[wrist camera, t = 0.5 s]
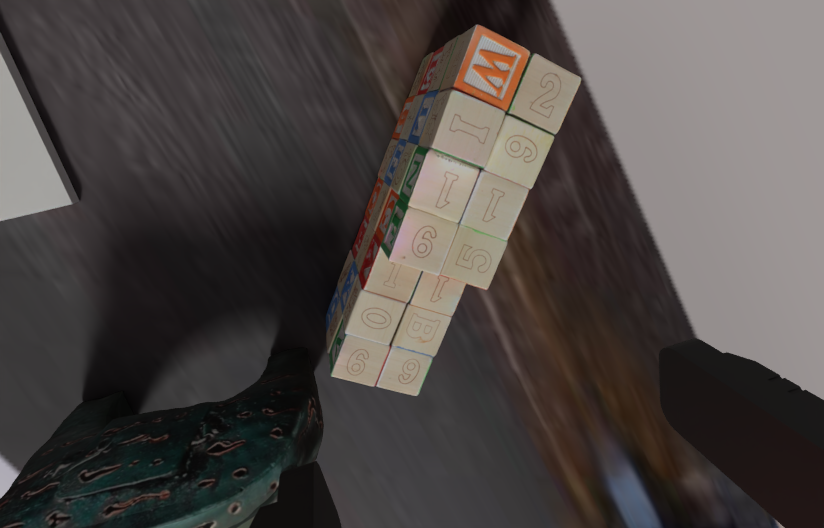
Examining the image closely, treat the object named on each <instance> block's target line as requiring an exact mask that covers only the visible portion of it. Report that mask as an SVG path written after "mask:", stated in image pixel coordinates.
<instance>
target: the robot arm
mask: <svg viewBox="0 0 824 528" xmlns="http://www.w3.org/2000/svg"><path fill="white" fill-rule="evenodd" d="M659 373H660V401H661V407H662V410H663V413H664V415H665V417H666V419H667V421H668V422H669V424H670V425H671V426H672V427H673V428H674V429H675V430H676V431H677V432H678V433H679V434H680V435H681V436H682V437H683V438H684V439H686V440H687V441H688V442H689V443H690V444H691V445H692V446H693V447H695V448H696V449H697V450H698V451H699V452H700V453H701V454H702V455H704V456H705V457H706V458H707V459H708V460H709V461H710V462H711V463H713V464H714V465H715V466H716V467H717V468H718V469H719V470H720V471H722V472H723V473H724V474H725V475H726V476H727V477H728V478H729V479H731V480H732V481H733V482H734V483H735V484H736V485H737V486H738V487H740V488H741V489H742V490H743V491H744V492H745V493H746V494H747V495H749V496H750V497H751V498H752V499H753V500H754V501H755V502H757V503H758V504H759V505H760V506H761V507H762V508H763V509H764V510H766V511H767V512H768V513H769V514H770V515H771V516H772V517H773V518H775V519H776V520H777V521H778V522H779V523H780V524H781V525H782V526H784V527H785V528H824V400H822V399H821V398H819V397H817V396H815V395H814V394H812V393H810V392H808V391H807V390H804V391H803V390H801V388H800V387H799V386H798V385H796V384H794V383H793V382H791V381H789V380H787V379H786V378H783V379H782V378H781V377H780V375H779V374H776V373H775V372H773V371H772V370H770V369H768V368H766V367H765V366H763V365H761V364H759V363H758V362H756V361H753V360H750V359H746V358H743V357H740V356H737V355H734V354H730V353H722V352H720V351H719V350H717V349H715V348H714V347H712V346H710V345H708V344H707V343H705V342H703V341H702V340H699V339H690V340H687V341H684V342H681V343H678V344H675V345H672V346H668V347H665V348H663V349H662V350H661V351H660V354H659ZM249 528H341V523H340V519H339V516H338V513H337V510H336V507H335V505H334V502H333V500H332V497H331V494H330V492H329V489H328V487H327V484H326V481H325V479H324V476H323V474H322V471H321V468H320V466H319V464H318V463H317V461H314V462H311V463H308V464H305V465H302V466H299V467H296V468H293V469H290V470H287V471H284V472H281V474H280V477H279V486H278V496H277V502H275V503H272V504H269V505H266V506H263V507H260V508H259V510H258V512H257V514H256V515H255V517H254V519H253V521H252V523H251V525H250V526H249Z"/></svg>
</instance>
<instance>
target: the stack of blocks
mask: <svg viewBox="0 0 824 528" xmlns="http://www.w3.org/2000/svg"><path fill="white" fill-rule="evenodd" d="M580 82H581V78H580V77H579V76H577V75H575V74H573V73H571V72H569V71H567V70H565V69H564V68H562V67H560V66H558V65H556V64H554V63H552V62H551V61H549V60H547V59H545V58H543V57H542V56H540V55H538V54H535V53H534V54H530V51H528V50H527V49H525V48H524V47H522V46H520V45H518V44H516V43H514V42H512V41H510V40H508V39H507V38H505V37H503V36H501V35H499V34H497V33H495V32H493V31H491V30H489V29H487V28H485V27H483V26H481V25H478V24H477V25H475V26H473V27H472V28H471V29H469V30H467V31H466V32H465V33H463V34H462V35H458V36H457V37H456V38H453V39H452V40H450V41H449V42H447V43H446V44H445V46H443V47H441V48H440V49H438V50H437V51H435V52H432V53H430V54H428V55H427V56H426V57H424V59H423V60H422V63H421V66H420V68H419V71H418V73H417V76H416V79H415V81H414V84H413V86H412V89H411V92H410V94H409V97H408V98H407V99H406V101H405V104H404V107H403V109H402V112H401V115H400V117H399V120H398V123H397V125H396V128H395V131H394V133H393V136H392V139H391V141H390V143H389V146H388V148H387V151H386V154H385V156H384V159H383V162H382V164H381V167H380V170H379V172H378V180H377V182H376V184H375V187H374V190H373V193H372V195H371V198H370V201H369V203H368V206H367V208H366V211H365V216H364V219H363V221H362V224H361V226H360V229H359V232H358V235H357V237H356V240H355V243H354V245H353V249H352V250H350V251H349V254H348V257H347V259H346V262H345V264H344V267H343V270H342V272H341V275H340V278H339V281H338V285H337V287H336V290H335V292H334V295H333V298H332V300H331V303H330V306H329V309H328V311H327V314H326V333H327V334H326V341H327V353H329V361H330V374H331V376H332V377H336V378H340V379H344V380H348V381H353V382H357V383H361V384H365V385H369V386H378V387H381V388H384V389H388V390H392V391H397V392H401V393H405V394H409V395H414V396H417V395H418V394H419V392H420V389H421V387H422V385H423V382H424V380H425V377H426V375H427V373H428V371H429V368H430V366H431V363H432V359H433V357H434V356H435V355H436V353H437V351H438V349H439V346H440V344H441V342H442V339H443V337H444V335H445V332H446V330H447V327H448V325H449V323H450V321H451V317H452V315H453V314H454V312H455V310H456V307H457V305H458V303H459V300H460V298H461V295H462V293H463V290H464V288H465V285H466V284H469V285H472V286H475V287H478V288H481V289H484V290H487V289H488V287H489V285H490V283H491V280H492V278H493V276H494V274H495V271H496V269H497V266H498V264H499V262H500V260H501V257H502V255H503V253H504V250H505V248H506V246H507V240H508V238H509V236H510V234H511V232H512V230H513V228H514V225H515V223H516V221H517V218H518V216H519V213H520V211H521V209H522V207H523V204H524V202H525V200H526V197H527V195H528V191H529V190H530V189H531V188H532V187H533V185H534V183H535V180H536V178H537V176H538V174H539V172H540V169H541V167H542V165H543V163H544V160H545V158H546V156H547V154H548V151H549V149H550V147H551V144H552V142H553V140H554V135H555V134H556V133H557V132H558V131H559V129H560V127H561V124H562V122H563V120H564V118H565V116H566V114H567V111H568V109H569V107H570V105H571V103H572V100H573V98H574V96H575V94H576V92H577V90H578V87H579V85H580Z"/></svg>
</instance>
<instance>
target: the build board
mask: <svg viewBox="0 0 824 528" xmlns="http://www.w3.org/2000/svg"><path fill="white" fill-rule="evenodd" d="M77 202H80V201H79V199H78V197H77V194H76V192H75V190H74V188H73V186H72V184H71V182H70V180H69V177H68V175H67V173H66V171H65V169H64V167H63V165H62V162H61V160H60V158H59V156H58V154H57V152H56V150H55V148H54V145H53V143H52V141H51V139H50V137H49V135H48V133H47V130H46V128H45V126H44V124H43V122H42V120H41V118H40V116H39V113H38V111H37V109H36V107H35V105H34V103H33V101H32V98H31V96H30V94H29V92H28V90H27V88H26V86H25V84H24V81H23V79H22V77H21V75H20V73H19V71H18V69H17V66H16V64H15V62H14V60H13V58H12V56H11V54H10V52H9V49H8V47H7V45H6V43H5V41H4V39H3V37H2V35H1V32H0V221H2V220H6V219H11V218H15V217H19V216H24V215H28V214H32V213H36V212H41V211H45V210H49V209H54V208H58V207H62V206H66V205H71V204H74V203H77Z"/></svg>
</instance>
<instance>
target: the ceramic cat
mask: <svg viewBox="0 0 824 528" xmlns="http://www.w3.org/2000/svg"><path fill="white" fill-rule="evenodd" d="M323 427H324V424H323V417H322V409H321V405H320V401H319V396H318V389H317V384H316V381H315V376H314V372H313V369H312V366H311V363H310V360H309V356H308V351H307V348H300V349H291V350H287V351H284V352H280V353H277V354H276V355H273V356H270V357H269V358H268V363H267V367H266V369H265V371H264V372H263V374H262V375H261V377H260V379H259V380H258V381H257V382H256V383H254V384H253V385H251V386H250V387H248V388H247V389H246V390H244V391H242V392H241V393H239V394H237V395H235V396H234V397H232V398H230V399H227V400H225V401H220V402H205V403H199V404H196V405H194V406H190V407H186V408H174V409H169V410H159V411H153V412H148V413H143V414H138V415H133V412H132V410H131V408H130V406H129V404H128V402H127V401H126V399H125V396H124V394H123V391H120V392H117V393H114V394H112V395H109V396H107V397H105V398H101V399H97V400H90V401H85V402H82V403H81V404H79V405H78V406H77V407H76V409H75V410H74V411H73V412H72V413H71V414H70V415H69V416H68V417H67V418H66V419H65V420H64V421H63V422H62V424H61V425H60V426H59V427H58V429H57V430H56V431H55V432H54V434H53V435H52V437H51V438H50V439H49V440H48V441H47V442H46V443H45V444H44V445H43V446H42V447H41V448H40V449H39V450H38V451H36V452H35V453H34V454H33V456H32V457H31V458H30V459H29V460H28V462H27V463H26V465H25V466H24V468H23V469H22V471H21V473H20V474H19V475H18V477H17V478H16V479H15V481H14V482H13V484H12V486H11V487H10V489H9V490H8V491H7V492H6V493H5V495H4V496H3V497H2V498H1V499H0V528H249V526H250V525H251V523H252V521H253V519H254V517H255V515H256V514H257V512H258V510H259V508H260V507H263V506H266V505H269V504H272V503H275V502H277V496H278V486H279V477H280V474H281V472H284V471H287V470H290V469H293V468H296V467H299V466H302V465H305V464H308V463H311V462H314V461H315V460H316V458H317V455H318V451H319V448H320V445H321V442H322V437H323Z"/></svg>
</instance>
